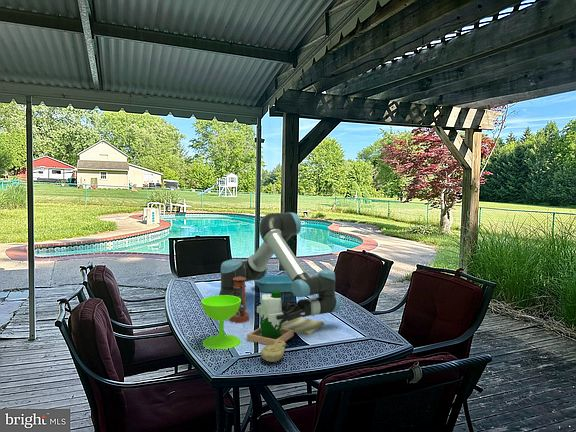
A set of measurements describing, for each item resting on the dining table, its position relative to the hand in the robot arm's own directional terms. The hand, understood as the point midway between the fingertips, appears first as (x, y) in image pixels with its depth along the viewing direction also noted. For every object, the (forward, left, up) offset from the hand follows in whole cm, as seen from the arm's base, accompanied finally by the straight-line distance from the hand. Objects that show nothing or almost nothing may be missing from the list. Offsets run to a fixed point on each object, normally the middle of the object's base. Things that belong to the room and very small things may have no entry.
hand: (262, 313), depth 165 cm
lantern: (-23, +15, -11) cm, 30 cm away
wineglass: (-12, -12, -11) cm, 21 cm away
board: (+7, +22, -11) cm, 26 cm away
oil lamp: (+13, -13, -11) cm, 22 cm away
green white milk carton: (+2, +3, -11) cm, 12 cm away
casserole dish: (-34, +77, -11) cm, 85 cm away
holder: (+2, +3, -11) cm, 12 cm away
